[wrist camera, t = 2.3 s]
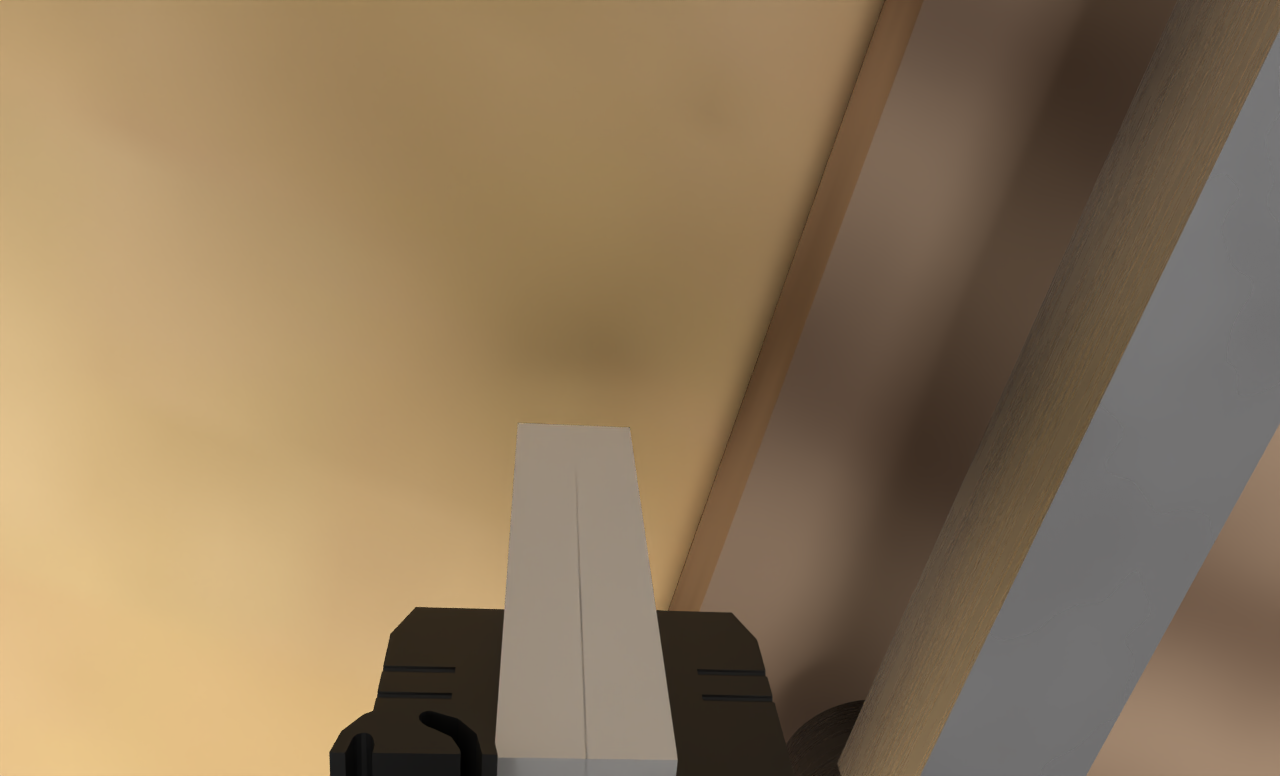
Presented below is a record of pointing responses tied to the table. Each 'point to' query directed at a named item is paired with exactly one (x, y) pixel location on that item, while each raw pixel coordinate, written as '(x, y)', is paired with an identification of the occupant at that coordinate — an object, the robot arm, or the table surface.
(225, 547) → the table surface
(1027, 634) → the lever
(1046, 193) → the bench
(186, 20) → the table surface
